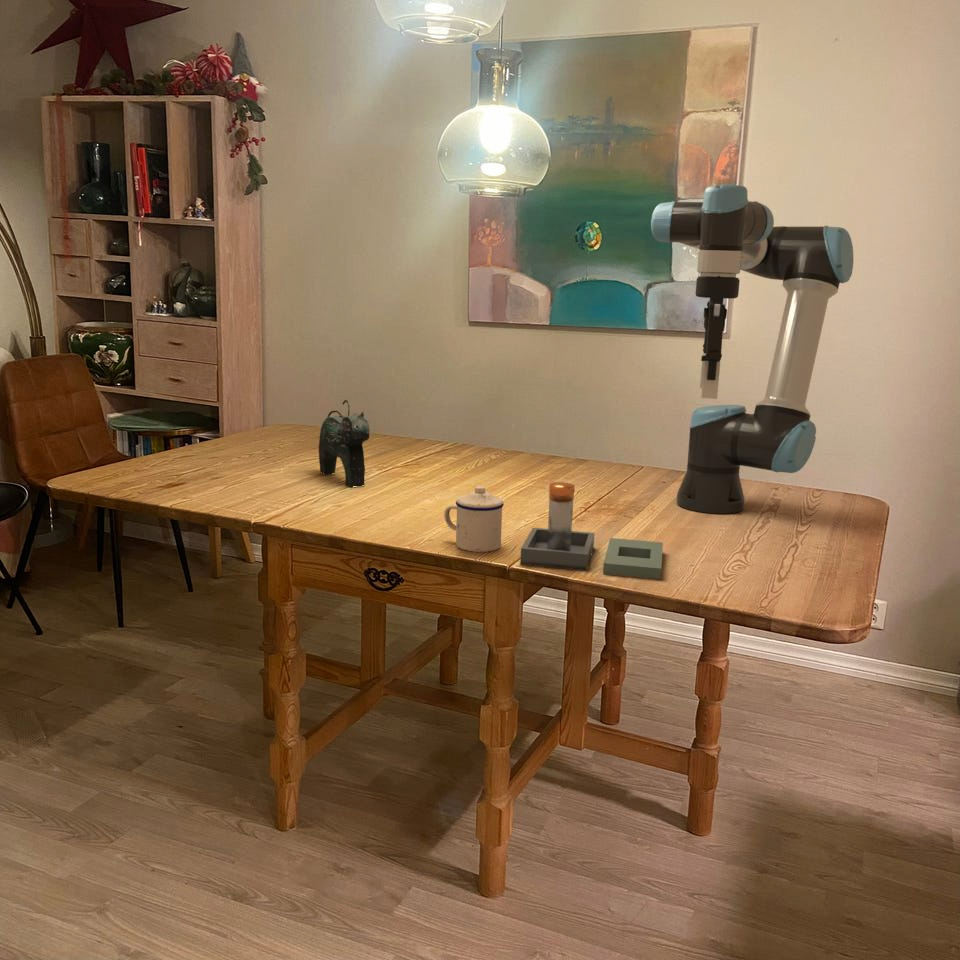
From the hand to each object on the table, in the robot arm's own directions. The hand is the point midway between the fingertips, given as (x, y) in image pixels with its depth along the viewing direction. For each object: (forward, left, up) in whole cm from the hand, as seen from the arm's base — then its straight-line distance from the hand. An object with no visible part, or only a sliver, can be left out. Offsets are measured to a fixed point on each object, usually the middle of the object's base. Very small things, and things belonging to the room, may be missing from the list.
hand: (708, 393), depth 172 cm
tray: (+10, -25, -31) cm, 41 cm away
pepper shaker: (+10, -25, -30) cm, 40 cm away
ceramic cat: (-34, -84, -31) cm, 96 cm away
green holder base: (+10, -11, -31) cm, 34 cm away
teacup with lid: (+8, -42, -31) cm, 53 cm away
